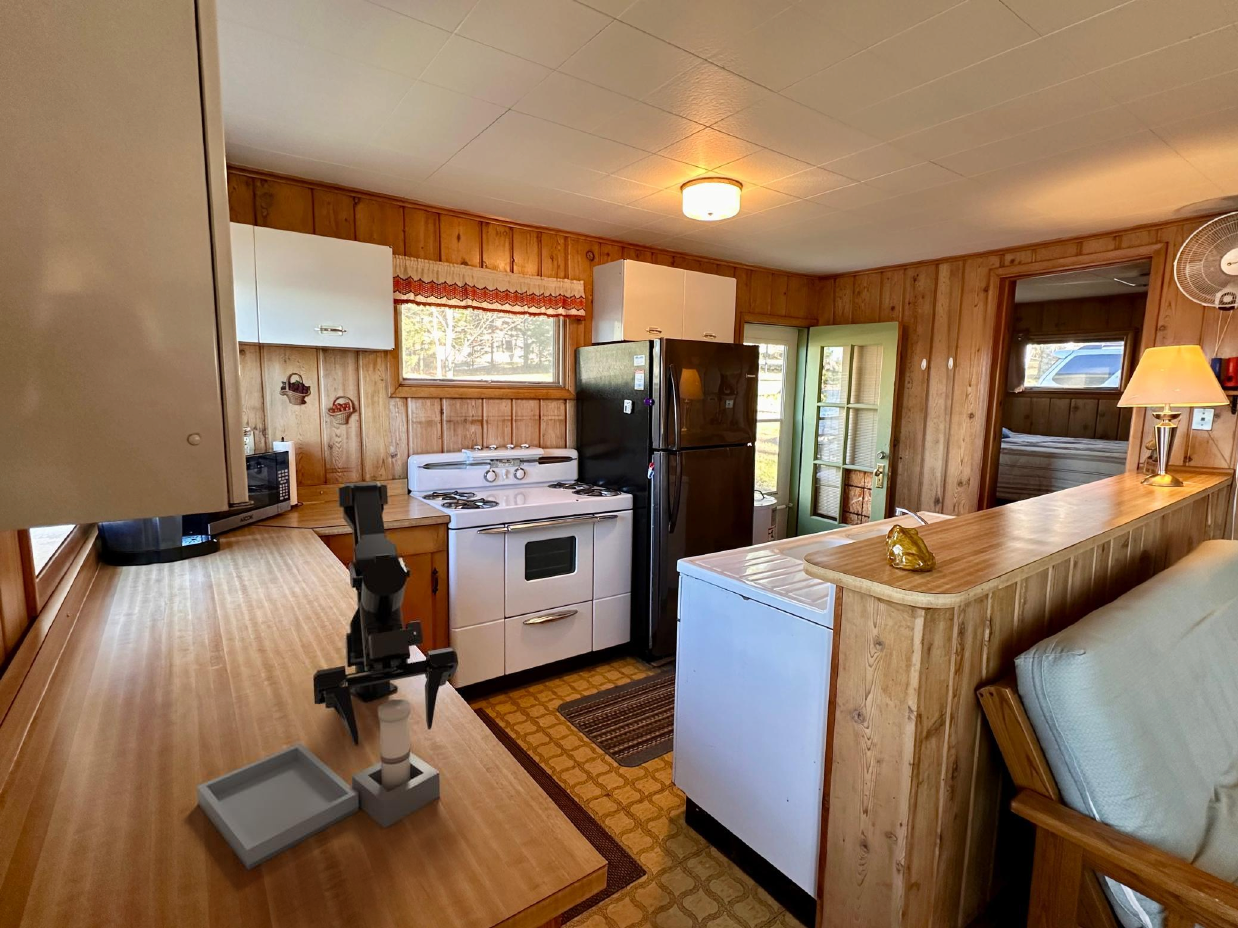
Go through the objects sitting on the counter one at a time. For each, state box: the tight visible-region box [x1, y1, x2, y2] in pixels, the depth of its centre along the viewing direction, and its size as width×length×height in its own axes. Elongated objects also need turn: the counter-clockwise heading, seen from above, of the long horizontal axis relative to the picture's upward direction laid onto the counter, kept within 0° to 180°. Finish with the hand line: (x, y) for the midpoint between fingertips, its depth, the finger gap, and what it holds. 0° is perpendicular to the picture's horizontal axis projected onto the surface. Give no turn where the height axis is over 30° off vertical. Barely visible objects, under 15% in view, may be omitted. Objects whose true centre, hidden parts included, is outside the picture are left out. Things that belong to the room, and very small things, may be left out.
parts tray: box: [196, 742, 360, 871], centre depth 79 cm, size 17×13×2 cm
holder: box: [351, 751, 441, 829], centre depth 81 cm, size 8×8×4 cm
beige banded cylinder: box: [377, 698, 411, 792], centre depth 81 cm, size 4×4×13 cm
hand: (394, 736), depth 81 cm, fingers open, 9 cm apart
